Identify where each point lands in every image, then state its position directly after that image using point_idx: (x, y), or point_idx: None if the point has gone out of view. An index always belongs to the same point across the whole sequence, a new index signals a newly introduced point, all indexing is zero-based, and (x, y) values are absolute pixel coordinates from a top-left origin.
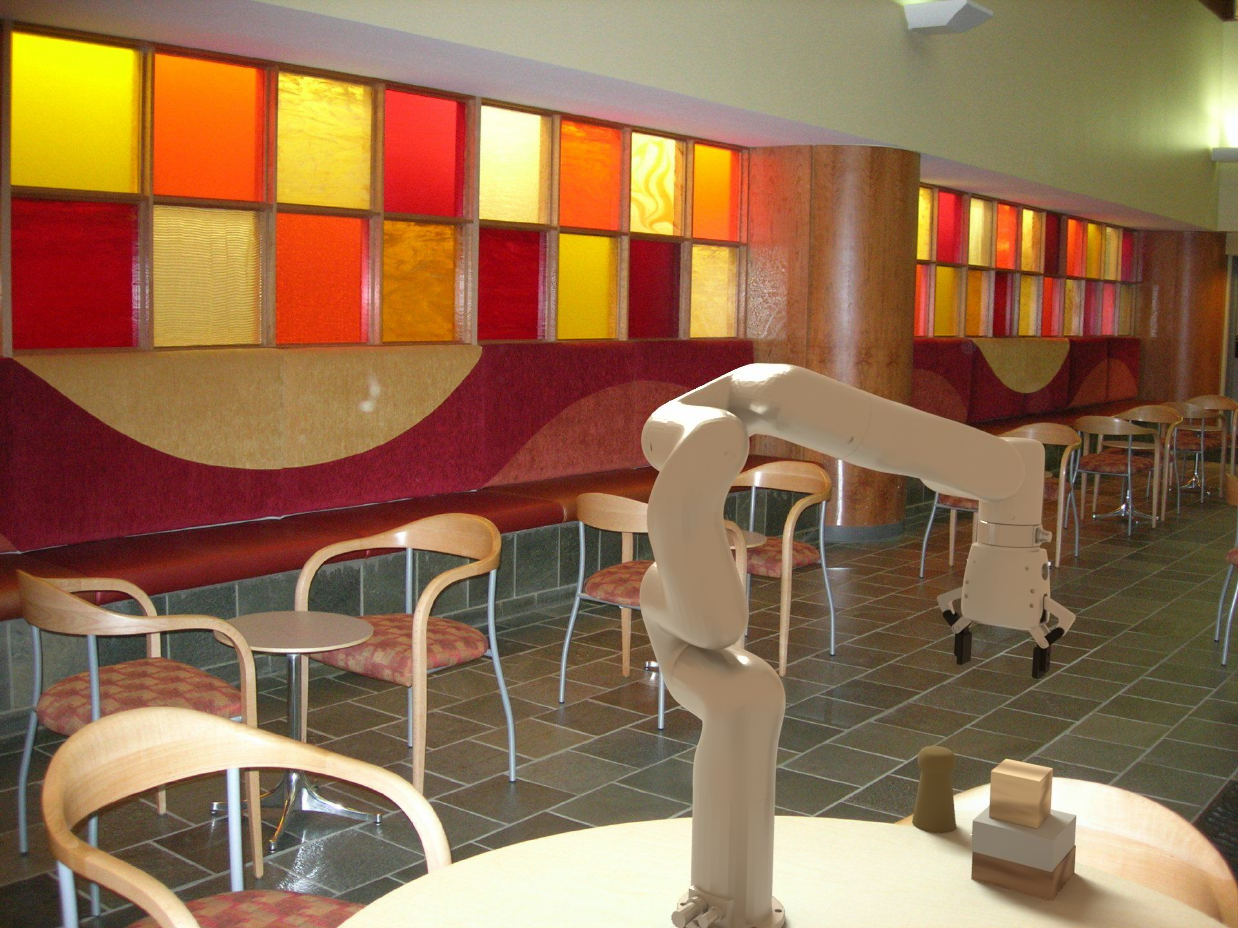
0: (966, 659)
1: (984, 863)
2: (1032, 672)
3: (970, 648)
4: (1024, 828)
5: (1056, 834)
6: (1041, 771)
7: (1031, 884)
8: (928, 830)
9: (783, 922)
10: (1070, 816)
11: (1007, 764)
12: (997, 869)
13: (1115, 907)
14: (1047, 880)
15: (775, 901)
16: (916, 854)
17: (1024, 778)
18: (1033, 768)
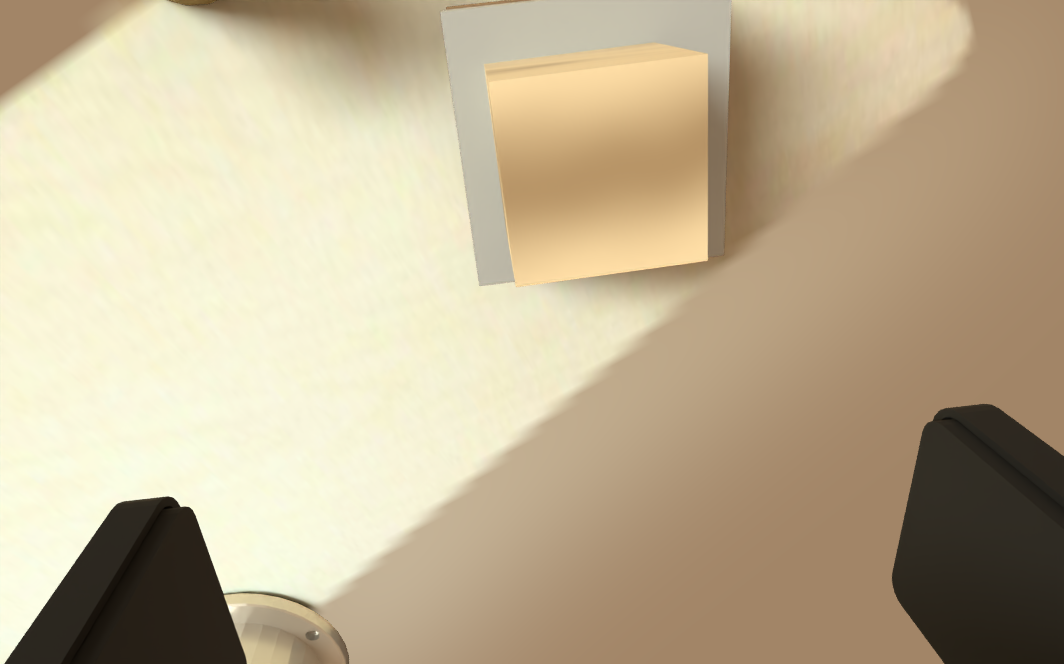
0: (211, 618)
1: None
2: (921, 627)
3: (137, 635)
4: None
5: (718, 205)
6: (678, 136)
7: None
8: (208, 3)
9: (338, 636)
10: (717, 10)
11: (530, 157)
12: None
13: (808, 129)
14: None
15: (282, 616)
16: (297, 193)
17: (649, 267)
18: (638, 122)
